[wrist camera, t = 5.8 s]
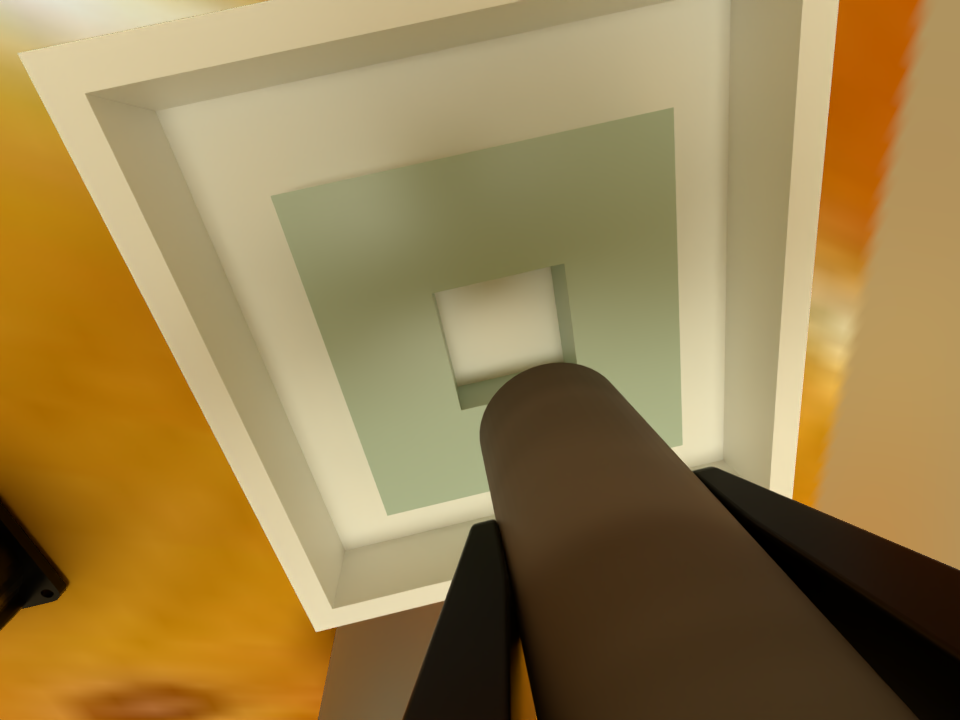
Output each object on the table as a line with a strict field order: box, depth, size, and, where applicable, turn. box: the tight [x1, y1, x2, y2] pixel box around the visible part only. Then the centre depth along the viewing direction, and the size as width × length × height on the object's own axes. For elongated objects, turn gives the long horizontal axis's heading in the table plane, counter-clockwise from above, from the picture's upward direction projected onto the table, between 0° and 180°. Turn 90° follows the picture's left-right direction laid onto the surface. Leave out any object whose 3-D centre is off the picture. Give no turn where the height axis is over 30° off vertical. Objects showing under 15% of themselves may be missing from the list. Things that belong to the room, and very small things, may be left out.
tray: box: [18, 0, 839, 632], centre depth 16 cm, size 20×20×4 cm
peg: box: [479, 362, 919, 720], centre depth 5 cm, size 3×3×9 cm
